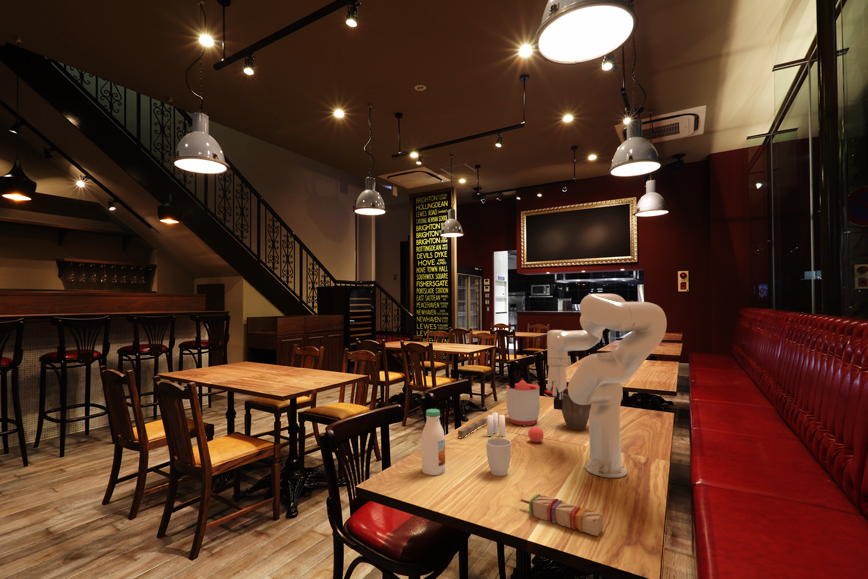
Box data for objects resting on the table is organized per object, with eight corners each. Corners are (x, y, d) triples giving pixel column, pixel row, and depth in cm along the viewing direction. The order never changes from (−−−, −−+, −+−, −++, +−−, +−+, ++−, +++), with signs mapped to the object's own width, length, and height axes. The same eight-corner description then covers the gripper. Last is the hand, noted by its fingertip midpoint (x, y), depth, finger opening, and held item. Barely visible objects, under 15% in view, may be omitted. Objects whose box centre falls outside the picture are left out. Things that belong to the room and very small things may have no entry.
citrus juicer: (518, 415, 203) (517, 375, 204) (547, 423, 189) (546, 379, 190) (496, 421, 193) (496, 378, 194) (525, 429, 180) (524, 384, 181)
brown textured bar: (462, 439, 168) (462, 431, 168) (458, 438, 169) (458, 430, 169) (487, 424, 188) (487, 418, 188) (483, 424, 189) (483, 417, 189)
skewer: (605, 530, 99) (604, 509, 99) (596, 542, 94) (595, 519, 94) (526, 504, 112) (526, 486, 112) (515, 513, 107) (515, 494, 107)
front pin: (503, 437, 169) (503, 416, 170) (498, 436, 171) (498, 415, 171) (506, 435, 171) (505, 415, 172) (500, 434, 173) (500, 414, 173)
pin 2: (496, 434, 174) (496, 414, 174) (491, 433, 175) (491, 413, 175) (499, 432, 176) (498, 412, 176) (494, 431, 177) (493, 412, 177)
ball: (540, 445, 159) (540, 429, 159) (526, 442, 162) (525, 427, 162) (545, 441, 164) (545, 426, 164) (531, 438, 167) (530, 423, 167)
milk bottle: (431, 478, 129) (431, 414, 130) (417, 470, 135) (416, 409, 136) (450, 471, 134) (449, 410, 135) (435, 465, 140) (434, 406, 141)
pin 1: (491, 437, 169) (491, 416, 170) (486, 436, 171) (486, 415, 171) (494, 435, 172) (493, 415, 172) (489, 434, 173) (488, 414, 173)
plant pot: (591, 435, 171) (589, 396, 171) (555, 430, 178) (554, 393, 179) (596, 426, 183) (595, 390, 184) (562, 422, 191) (561, 387, 192)
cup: (515, 471, 134) (514, 440, 135) (506, 480, 127) (505, 447, 128) (492, 466, 138) (491, 436, 139) (482, 475, 131) (482, 443, 132)
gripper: (553, 358, 168) (554, 403, 167) (542, 363, 155) (542, 412, 155) (572, 360, 164) (573, 406, 163) (561, 365, 151) (562, 414, 151)
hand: (558, 408), depth 159 cm, fingers closed
